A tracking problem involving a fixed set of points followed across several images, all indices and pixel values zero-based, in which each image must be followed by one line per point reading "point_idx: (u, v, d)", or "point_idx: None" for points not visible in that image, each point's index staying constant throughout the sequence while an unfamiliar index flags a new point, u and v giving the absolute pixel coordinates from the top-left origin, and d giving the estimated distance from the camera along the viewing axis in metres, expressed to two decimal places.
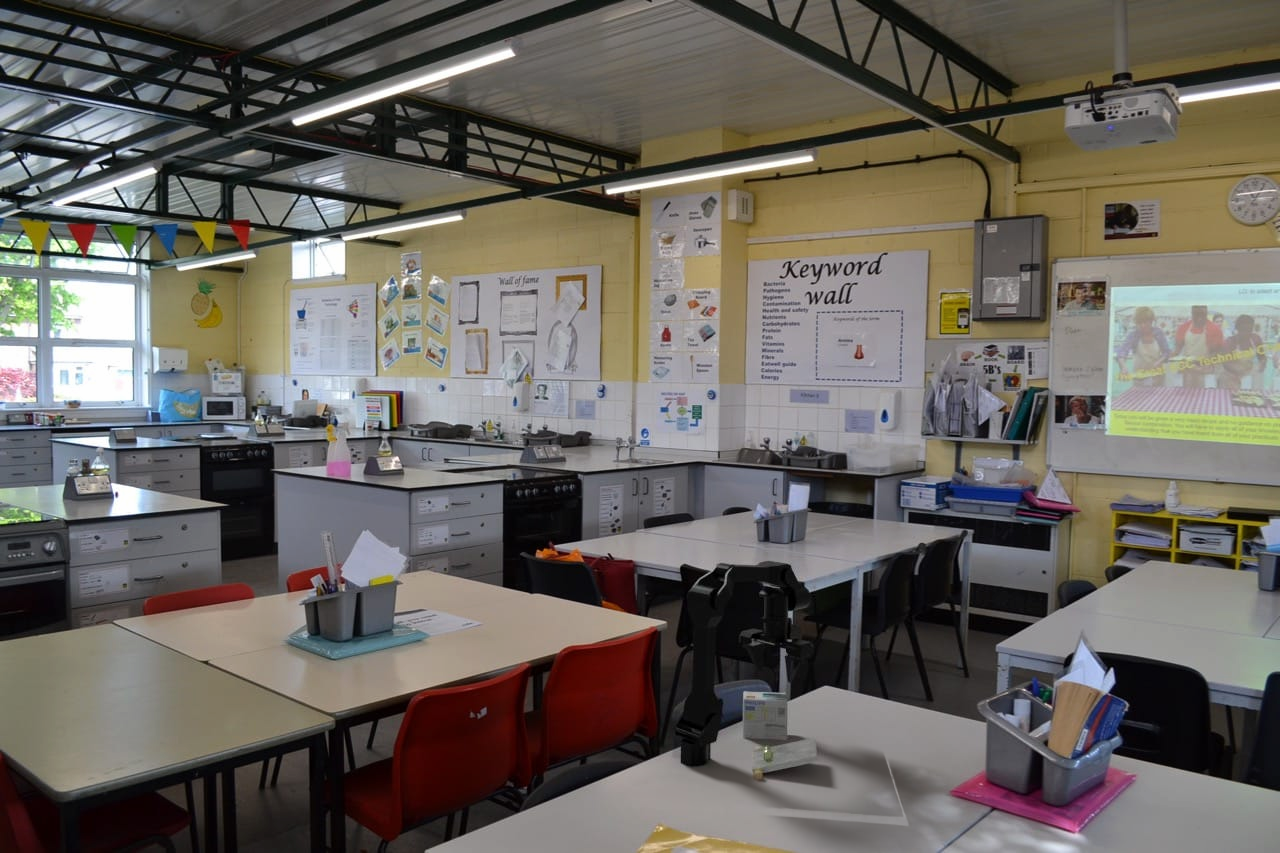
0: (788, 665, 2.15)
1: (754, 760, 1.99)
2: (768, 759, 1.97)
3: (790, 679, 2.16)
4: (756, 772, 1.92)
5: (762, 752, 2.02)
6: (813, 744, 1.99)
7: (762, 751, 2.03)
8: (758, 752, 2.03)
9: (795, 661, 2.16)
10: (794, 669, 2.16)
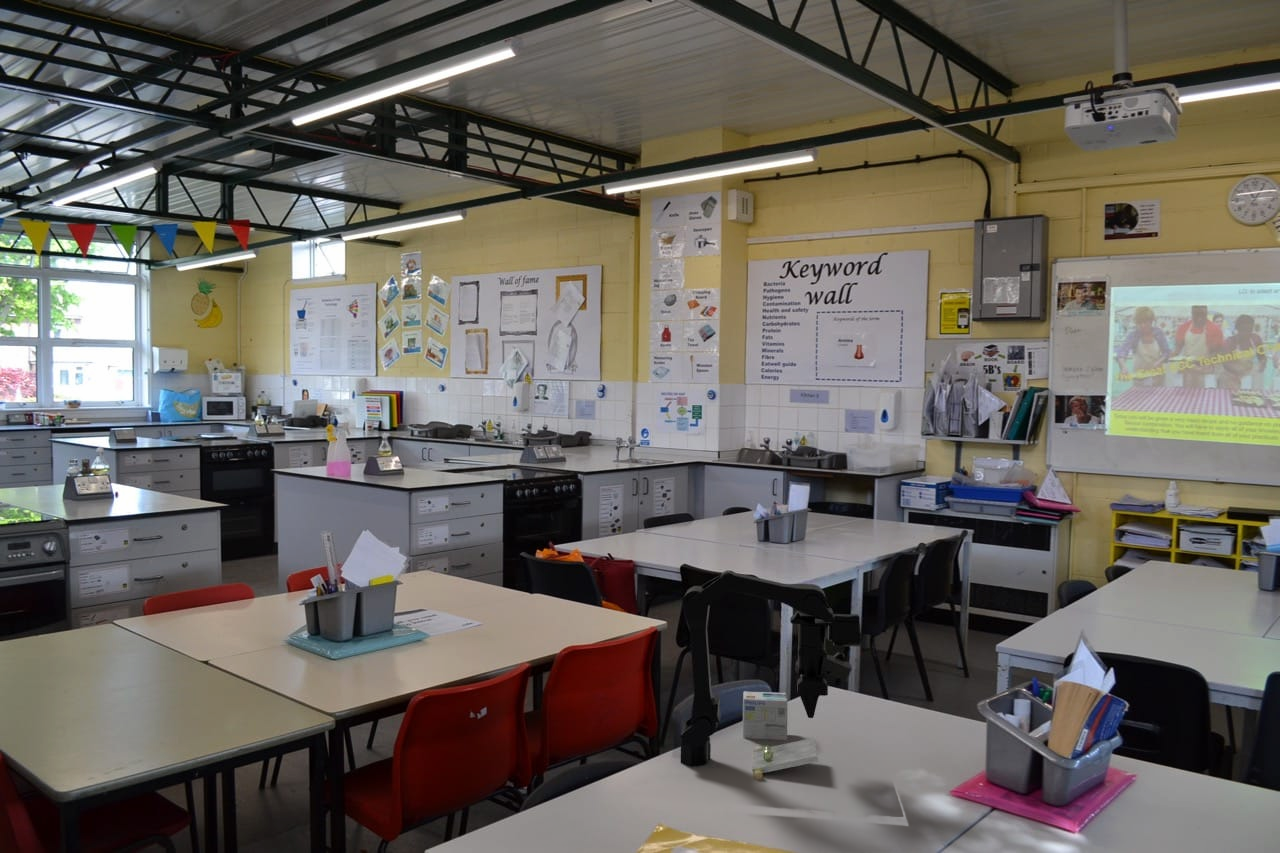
0: None
1: (754, 760, 1.99)
2: (768, 759, 1.97)
3: (808, 714, 1.96)
4: (756, 772, 1.92)
5: (762, 752, 2.02)
6: (813, 744, 1.99)
7: (762, 751, 2.03)
8: (758, 752, 2.03)
9: (812, 695, 1.95)
10: (812, 704, 1.95)
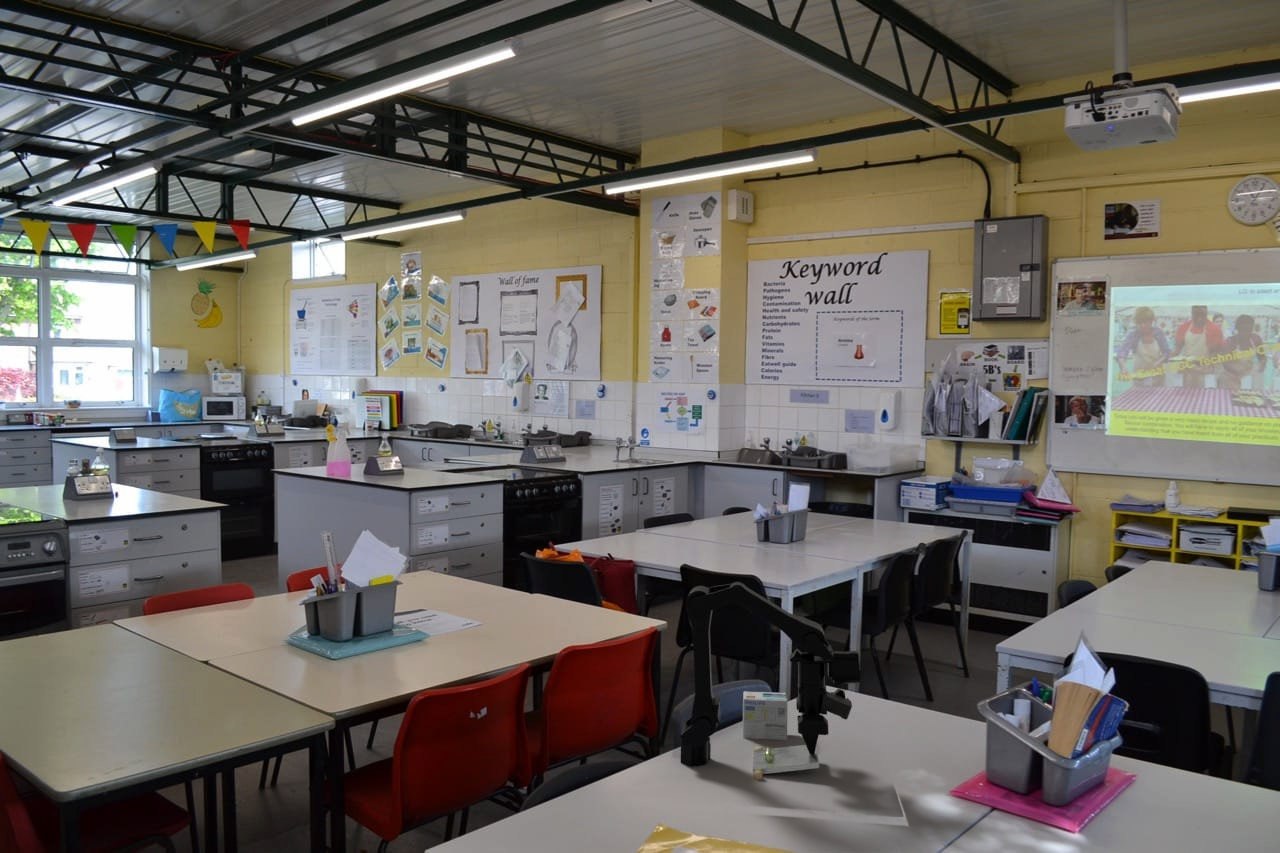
0: (801, 733, 1.97)
1: (755, 760, 1.99)
2: (769, 761, 1.97)
3: (809, 750, 1.97)
4: (756, 772, 1.92)
5: (763, 753, 2.02)
6: (815, 750, 1.99)
7: (763, 752, 2.03)
8: (759, 752, 2.03)
9: None
10: (812, 740, 1.96)
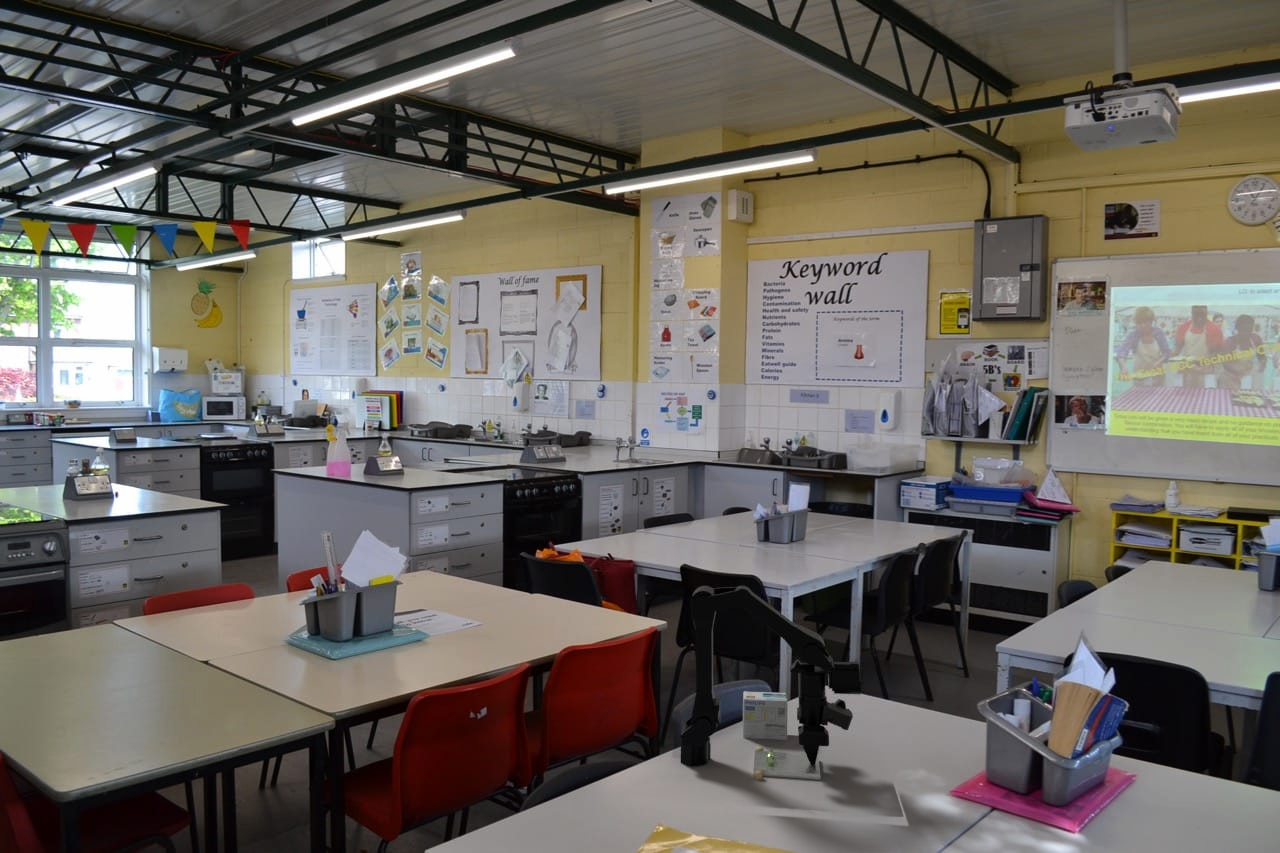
0: None
1: (756, 760, 1.99)
2: (771, 764, 1.97)
3: (810, 760, 1.97)
4: (756, 772, 1.92)
5: (764, 755, 2.02)
6: (817, 761, 1.99)
7: (764, 754, 2.03)
8: (760, 753, 2.03)
9: None
10: (813, 751, 1.96)
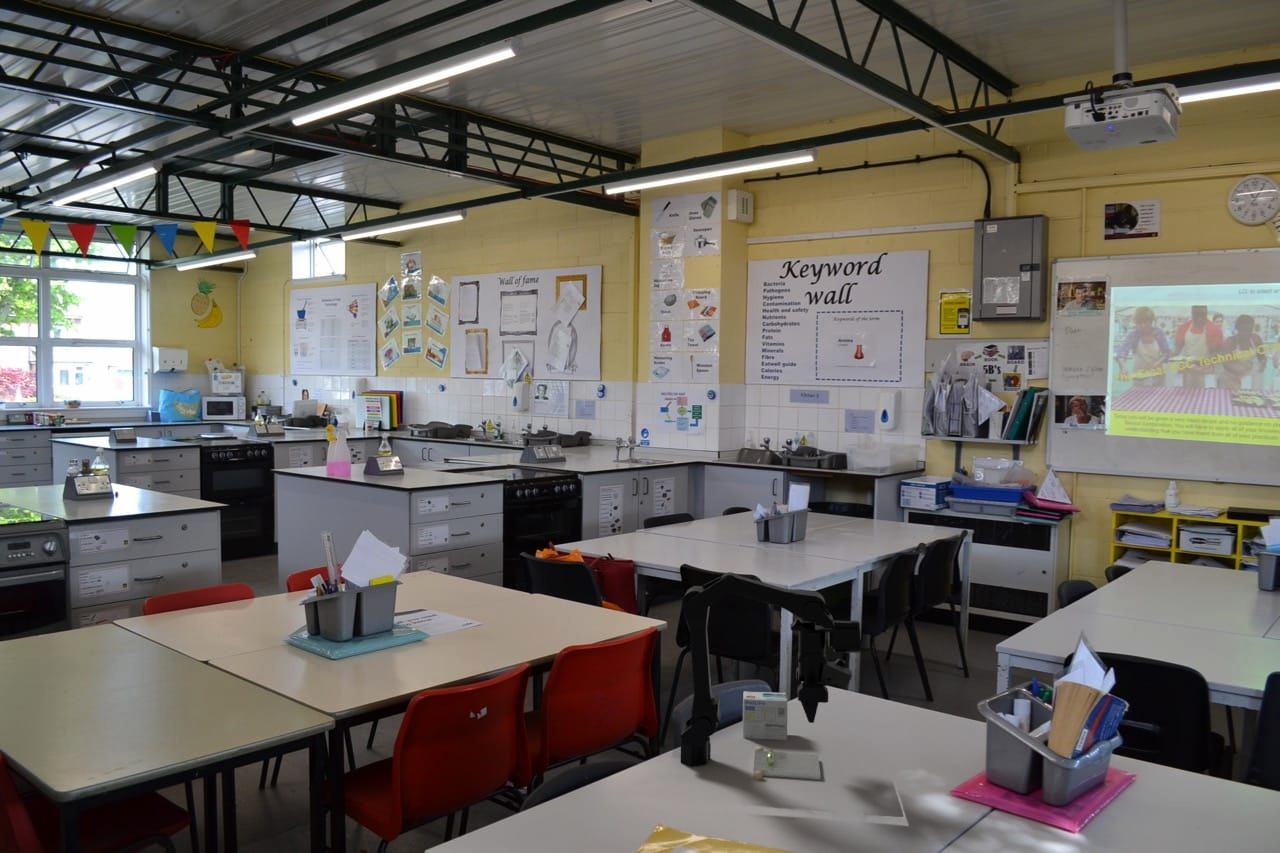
0: (801, 702, 1.97)
1: (756, 760, 1.99)
2: (771, 764, 1.97)
3: (809, 719, 1.97)
4: (756, 772, 1.92)
5: (764, 755, 2.02)
6: (817, 761, 1.99)
7: (764, 754, 2.03)
8: (760, 753, 2.03)
9: None
10: (812, 709, 1.96)
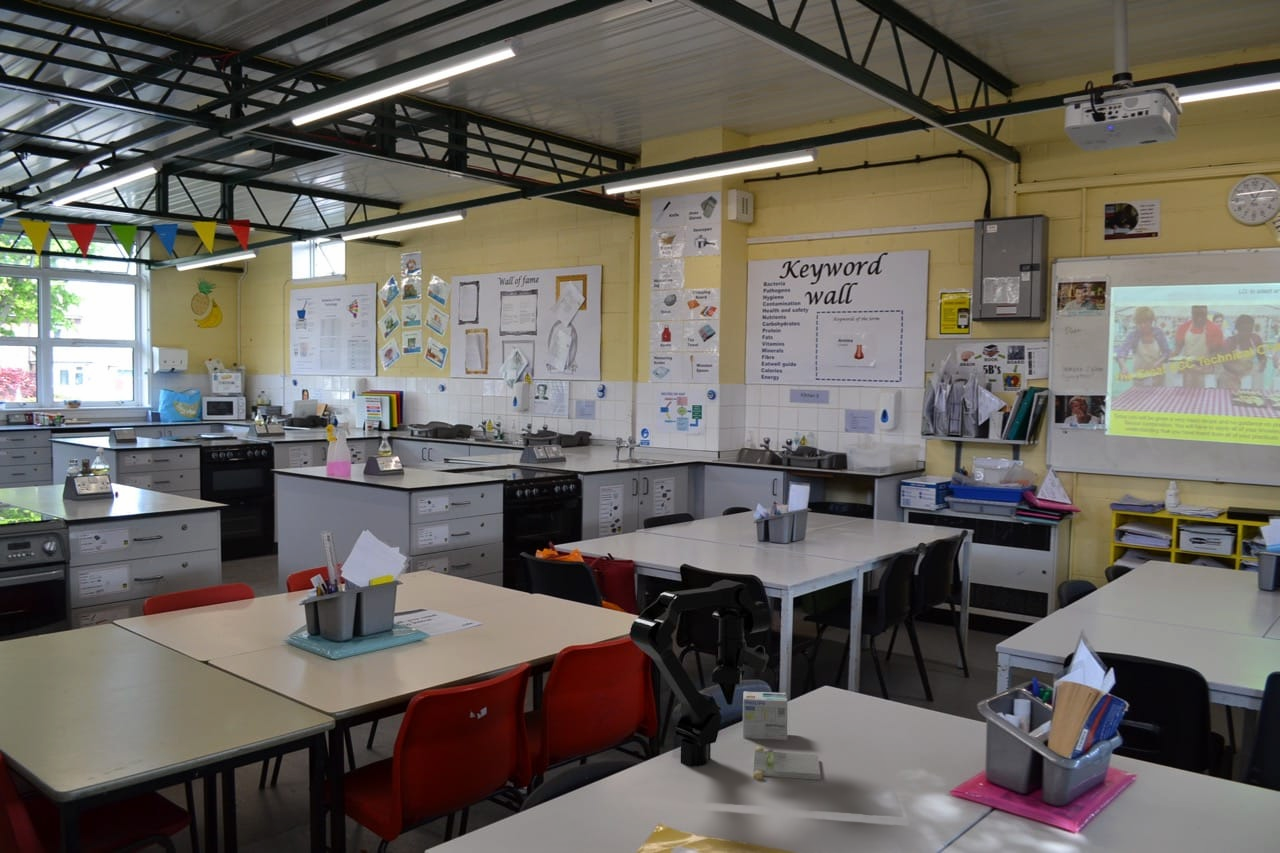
0: None
1: (756, 760, 1.99)
2: (771, 764, 1.97)
3: (727, 701, 2.08)
4: (756, 772, 1.92)
5: (764, 755, 2.02)
6: (817, 761, 1.99)
7: (764, 754, 2.03)
8: (760, 753, 2.03)
9: (731, 683, 2.07)
10: (730, 691, 2.07)
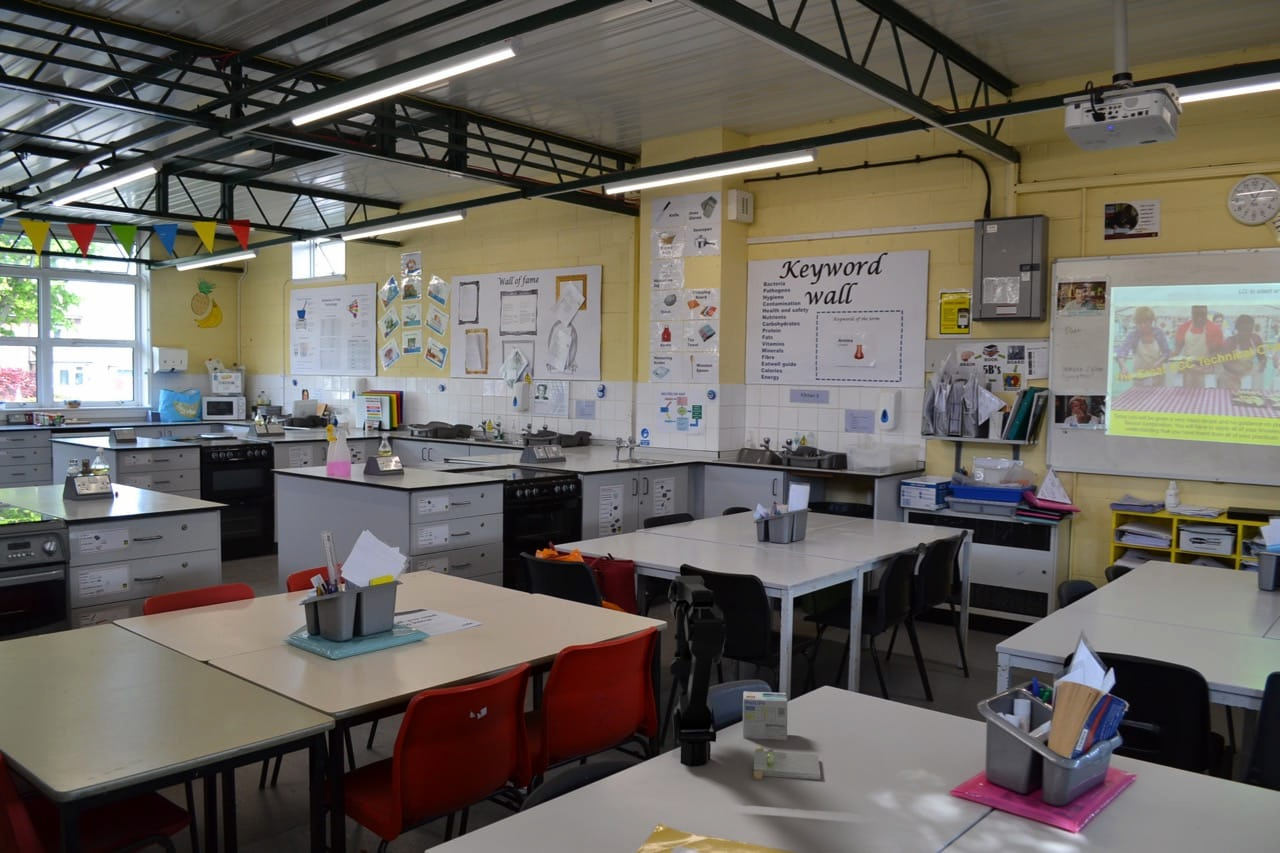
0: None
1: (756, 760, 1.99)
2: (771, 764, 1.97)
3: (684, 692, 2.14)
4: (756, 772, 1.92)
5: (764, 755, 2.02)
6: (817, 761, 1.99)
7: (764, 754, 2.03)
8: (760, 753, 2.03)
9: (688, 674, 2.13)
10: (687, 682, 2.13)
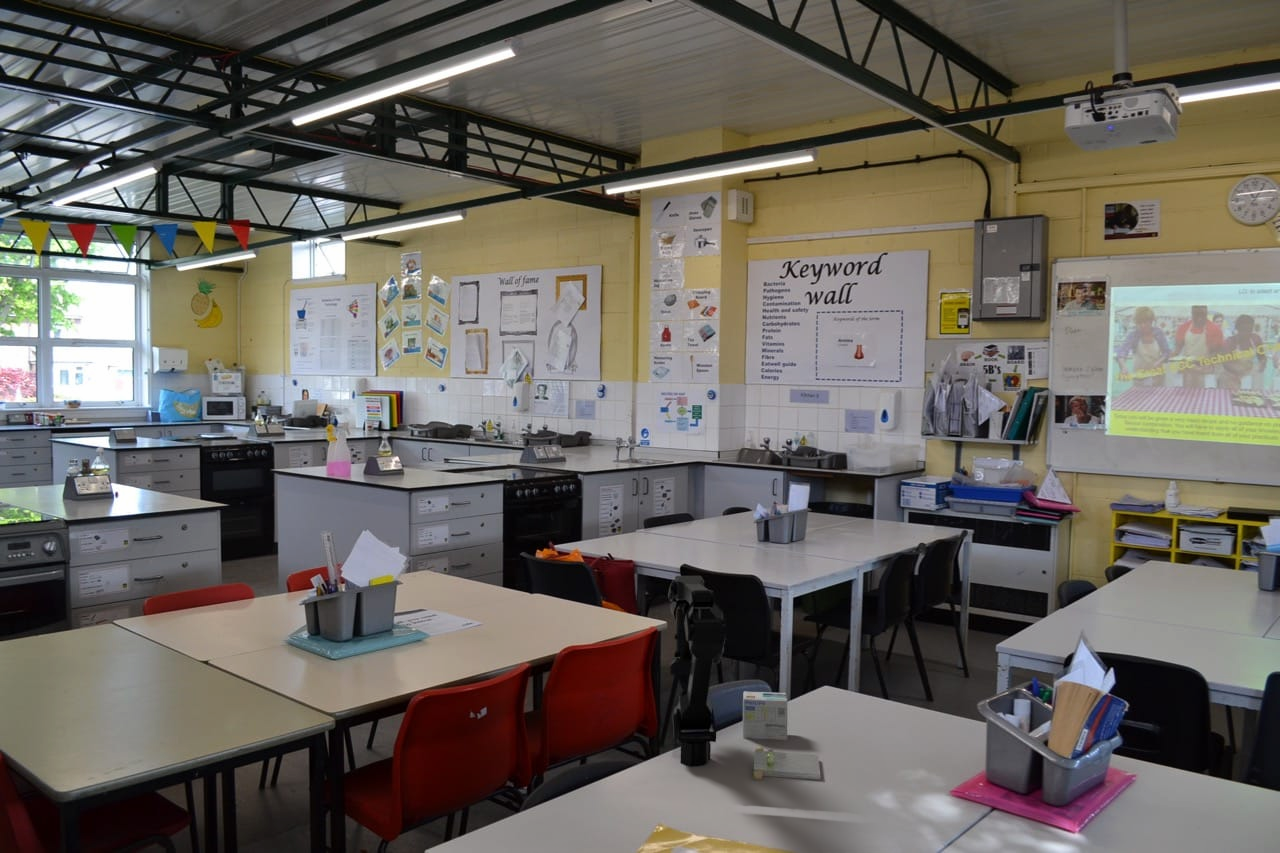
0: None
1: (756, 760, 1.99)
2: (771, 764, 1.97)
3: (684, 692, 2.14)
4: (756, 772, 1.92)
5: (764, 755, 2.02)
6: (817, 761, 1.99)
7: (764, 754, 2.03)
8: (760, 753, 2.03)
9: (688, 674, 2.13)
10: (687, 682, 2.13)
